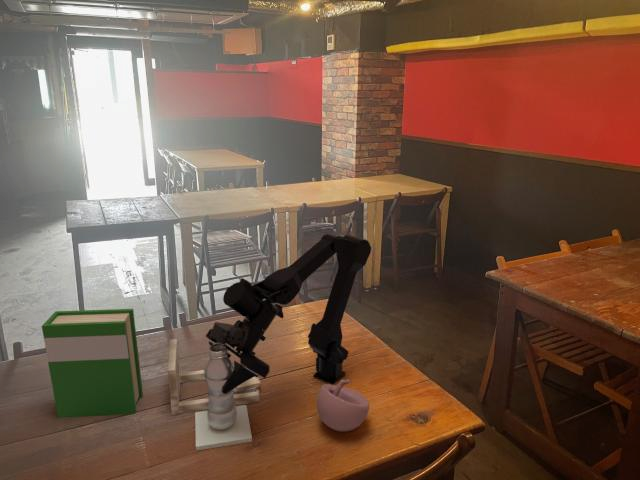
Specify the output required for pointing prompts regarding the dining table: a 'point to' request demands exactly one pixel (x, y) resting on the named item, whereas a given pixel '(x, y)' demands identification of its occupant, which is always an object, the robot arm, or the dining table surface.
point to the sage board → (222, 431)
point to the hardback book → (93, 362)
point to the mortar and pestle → (341, 406)
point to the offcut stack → (248, 386)
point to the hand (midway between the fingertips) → (214, 385)
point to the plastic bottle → (219, 388)
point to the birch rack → (178, 378)
